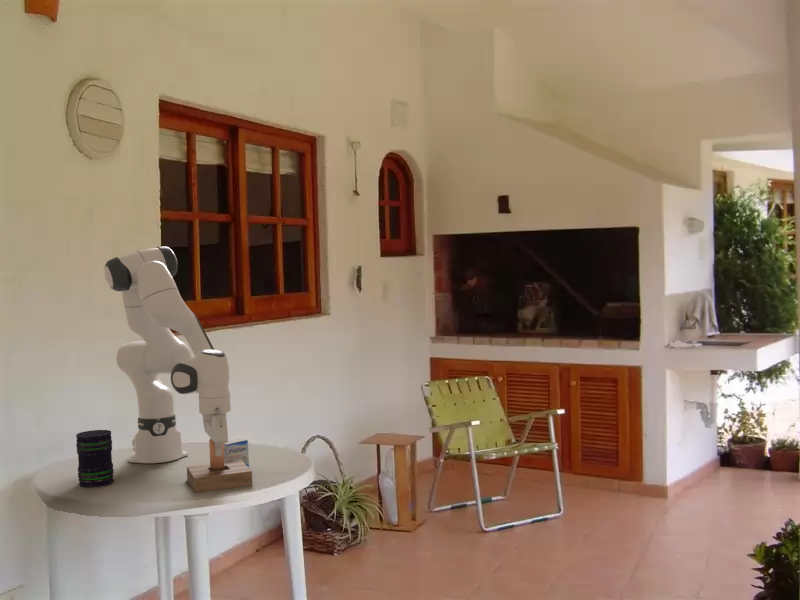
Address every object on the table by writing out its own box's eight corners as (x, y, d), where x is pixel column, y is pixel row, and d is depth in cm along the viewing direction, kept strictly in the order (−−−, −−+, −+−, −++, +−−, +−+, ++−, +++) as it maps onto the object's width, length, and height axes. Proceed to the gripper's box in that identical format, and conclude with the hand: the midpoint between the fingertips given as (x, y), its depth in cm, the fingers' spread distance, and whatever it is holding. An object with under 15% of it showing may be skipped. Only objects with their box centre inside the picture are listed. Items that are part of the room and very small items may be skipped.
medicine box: (228, 472, 254) (227, 444, 254) (219, 470, 257) (218, 442, 257) (249, 467, 260) (248, 439, 260) (240, 465, 263) (239, 438, 263)
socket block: (187, 479, 248) (186, 466, 248) (241, 472, 253) (241, 459, 253) (195, 492, 233) (194, 478, 233) (252, 485, 239) (251, 471, 238)
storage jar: (100, 477, 254) (98, 428, 253) (121, 481, 248) (118, 431, 248) (71, 485, 246) (68, 434, 245) (91, 489, 240) (89, 437, 239)
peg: (207, 467, 243) (206, 439, 243) (220, 464, 245) (219, 437, 245) (214, 469, 240) (213, 441, 240) (227, 466, 242) (225, 439, 242)
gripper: (232, 410, 233) (234, 459, 234) (220, 400, 252) (222, 446, 253) (209, 412, 231) (211, 462, 232) (198, 402, 250) (200, 448, 251)
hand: (216, 453), depth 243 cm, fingers closed on peg, 4 cm apart
